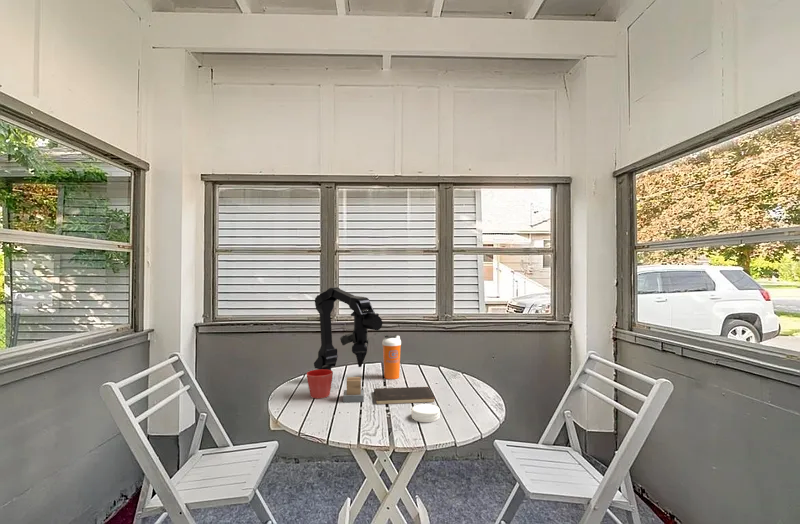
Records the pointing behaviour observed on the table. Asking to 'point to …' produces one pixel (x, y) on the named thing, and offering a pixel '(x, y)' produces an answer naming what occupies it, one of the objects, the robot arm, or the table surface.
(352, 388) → the tan block
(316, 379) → the flower pot
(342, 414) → the table surface
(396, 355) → the shaker bottle
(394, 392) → the hardcover book
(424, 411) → the coaster
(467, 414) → the table surface
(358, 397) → the grey box
